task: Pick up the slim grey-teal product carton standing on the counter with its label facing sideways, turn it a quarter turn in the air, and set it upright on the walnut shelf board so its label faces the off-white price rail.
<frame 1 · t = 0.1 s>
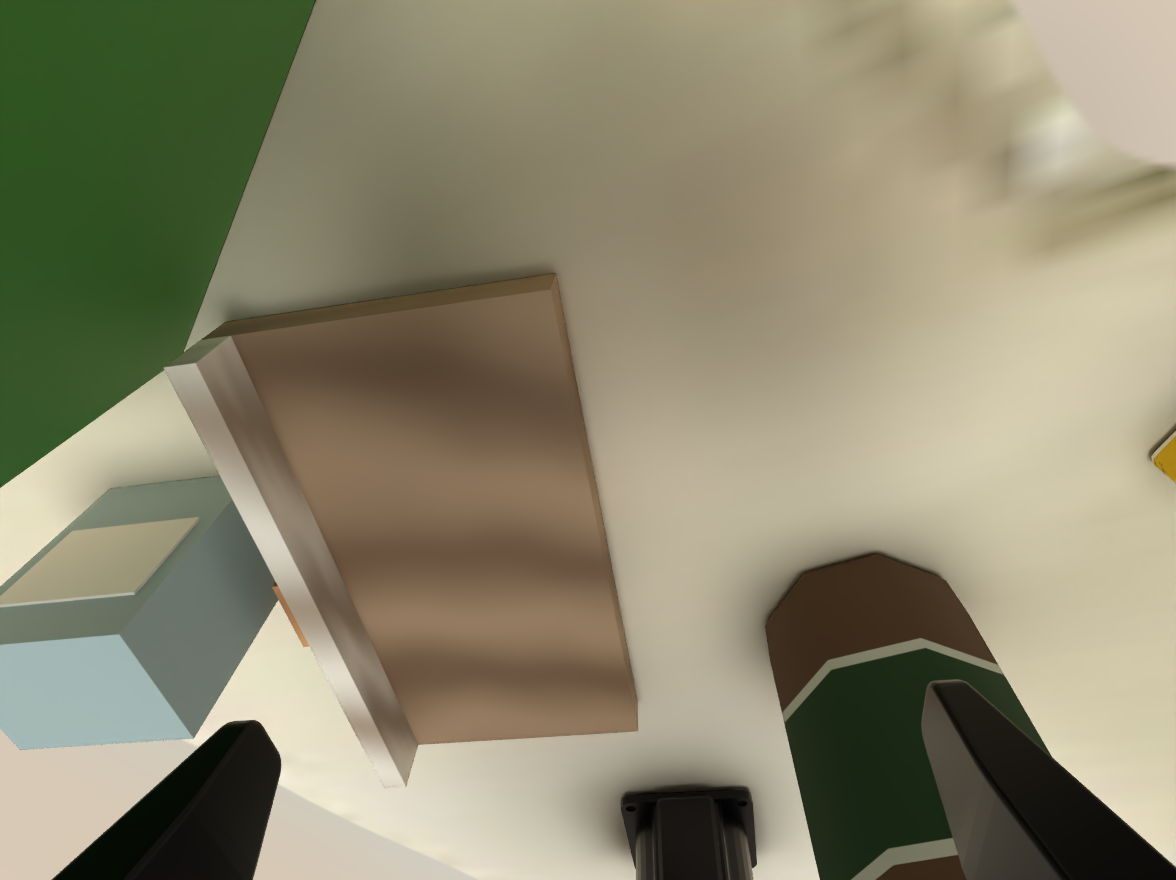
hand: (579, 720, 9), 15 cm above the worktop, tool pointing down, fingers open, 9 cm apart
beer bottle: (856, 618, 28), on the worktop
hardback book: (143, 33, 18), on the worktop
shelf board: (464, 542, 27), on the worktop
product carton: (208, 526, 27), on the worktop
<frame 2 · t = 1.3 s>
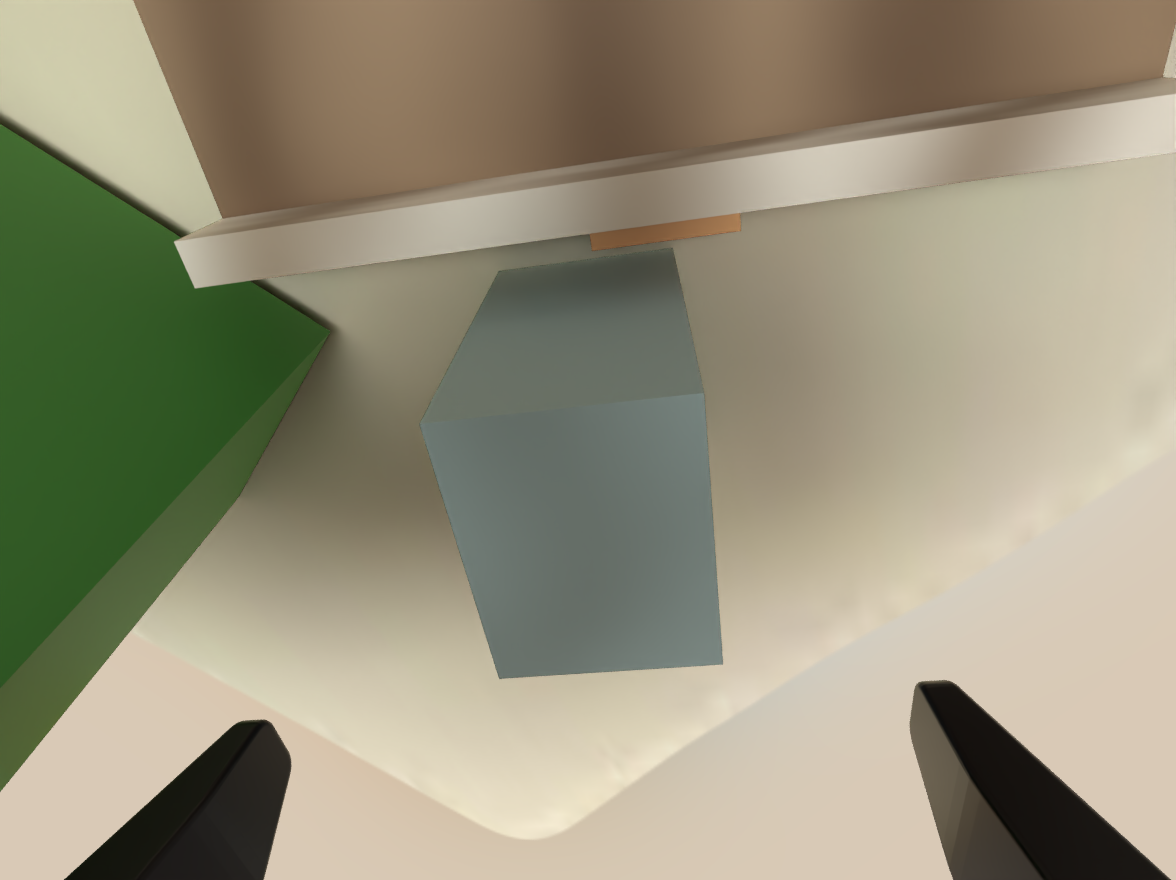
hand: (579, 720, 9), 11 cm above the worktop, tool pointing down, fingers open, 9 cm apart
product carton: (600, 366, 19), on the worktop
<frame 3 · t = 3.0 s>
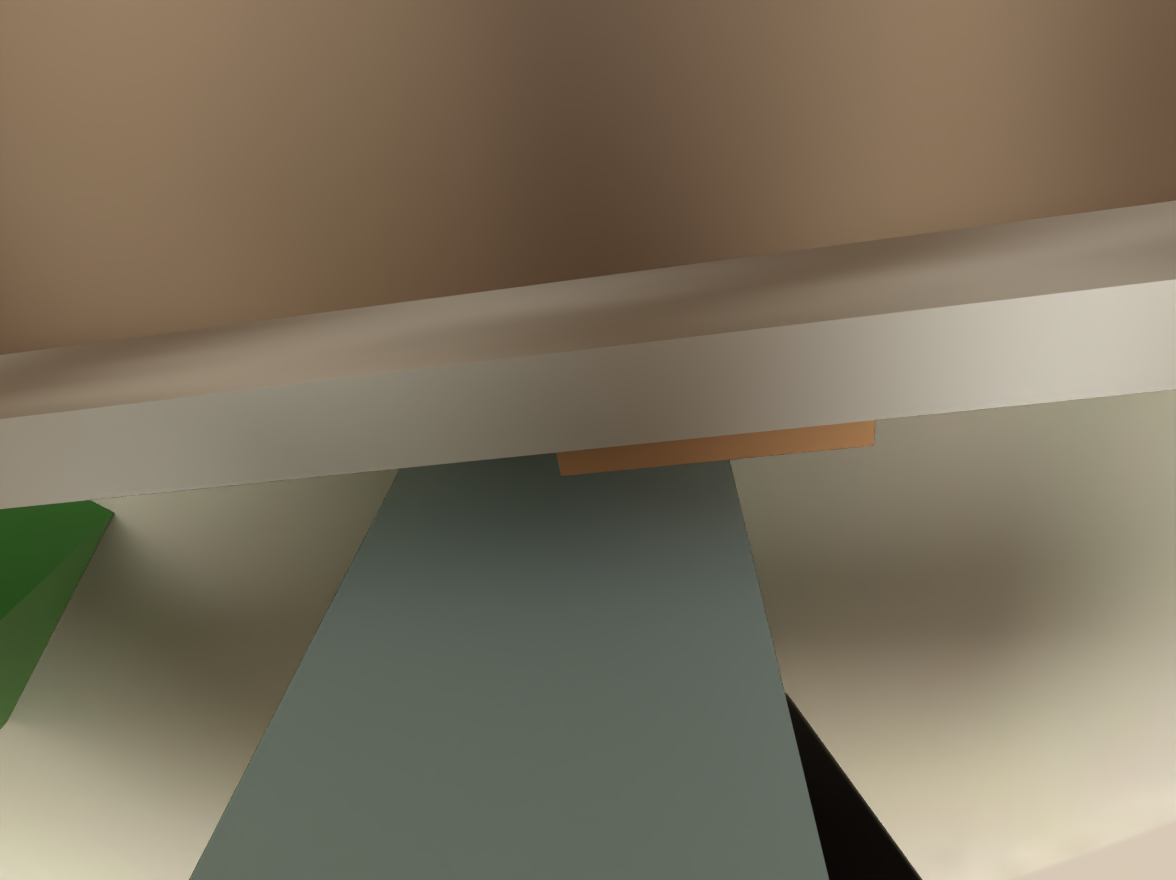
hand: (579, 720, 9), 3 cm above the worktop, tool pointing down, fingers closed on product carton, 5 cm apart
product carton: (592, 567, 12), on the worktop, touching gripper
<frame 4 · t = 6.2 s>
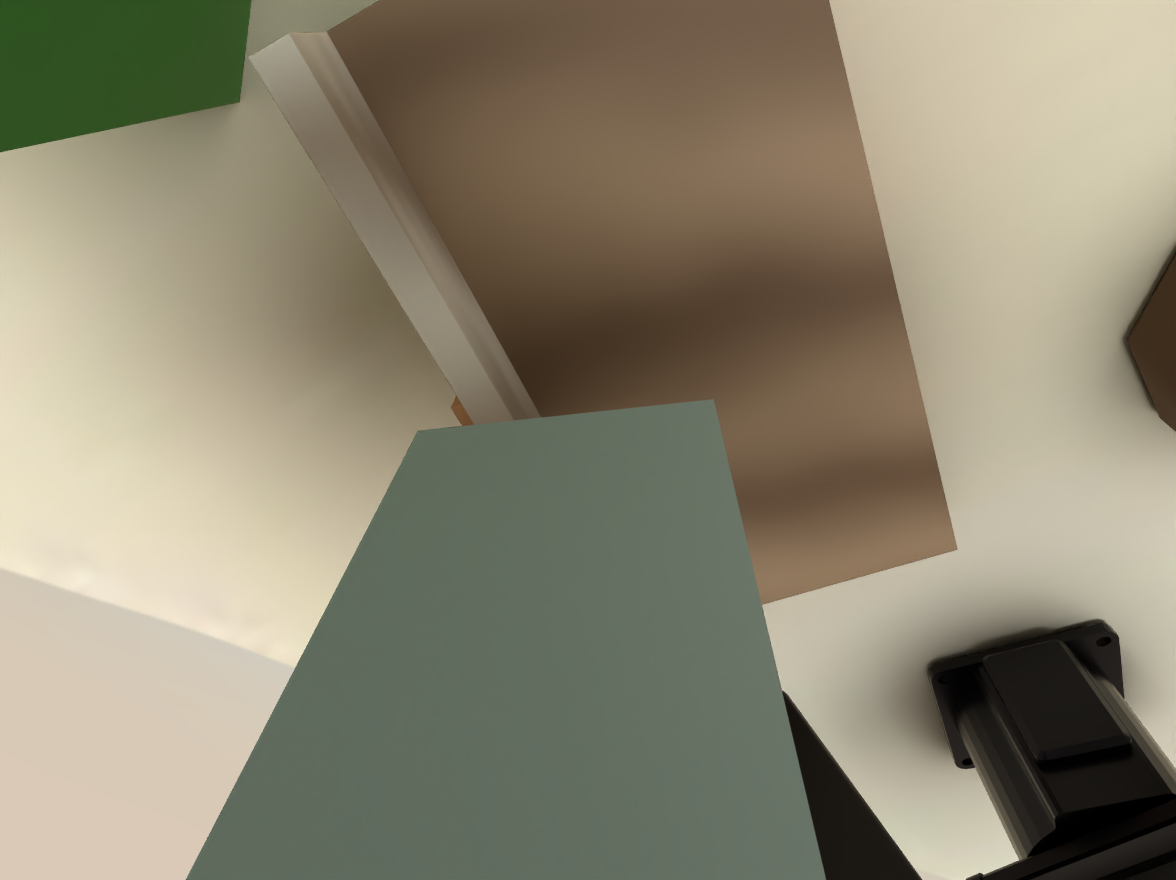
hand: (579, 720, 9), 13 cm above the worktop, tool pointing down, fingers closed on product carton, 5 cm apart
shelf board: (678, 323, 20), on the worktop
product carton: (591, 567, 12), point 10 cm above the worktop, touching gripper
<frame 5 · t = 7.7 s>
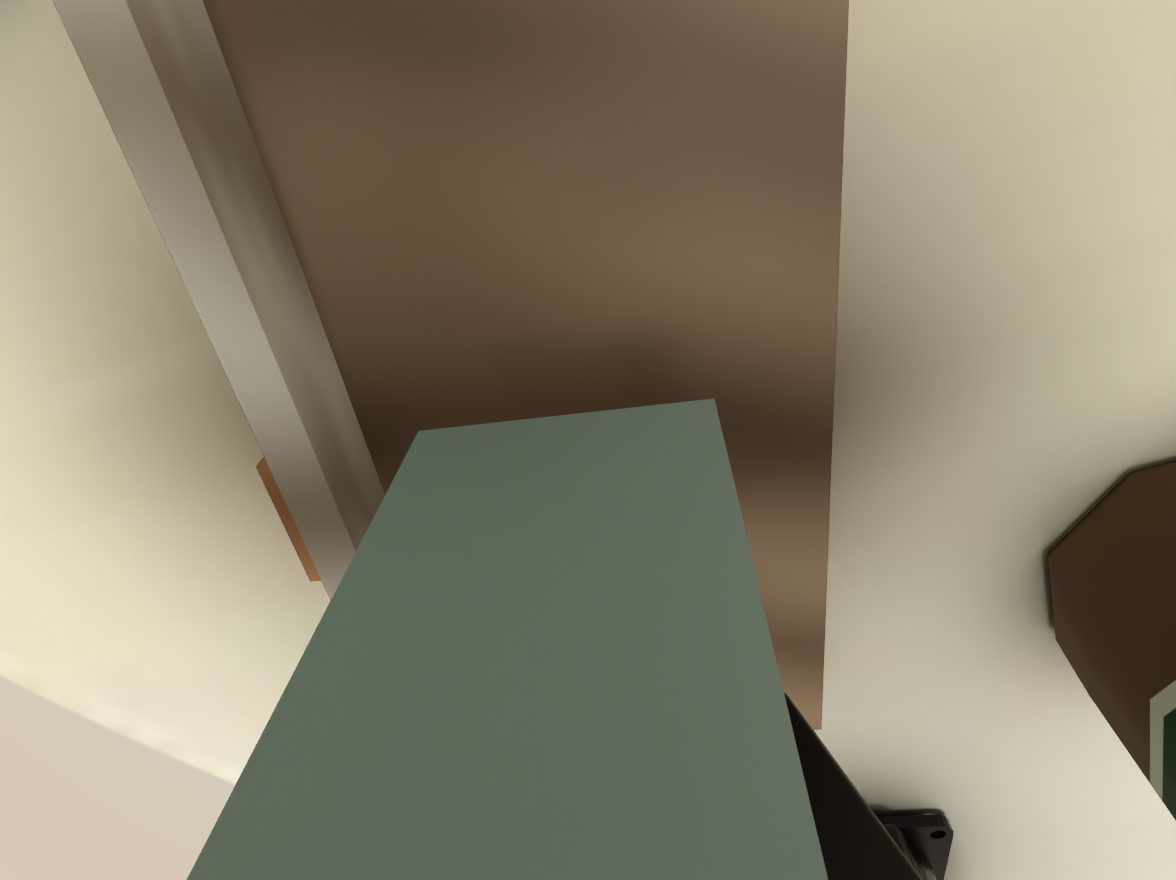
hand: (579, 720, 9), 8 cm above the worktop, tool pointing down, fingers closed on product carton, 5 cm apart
shelf board: (577, 417, 16), on the worktop
product carton: (591, 567, 12), point 5 cm above the worktop, touching gripper
when the fingers open (6 cm above the worktop, at t = 9.0 s): product carton drops 1 cm, resting on shelf board.
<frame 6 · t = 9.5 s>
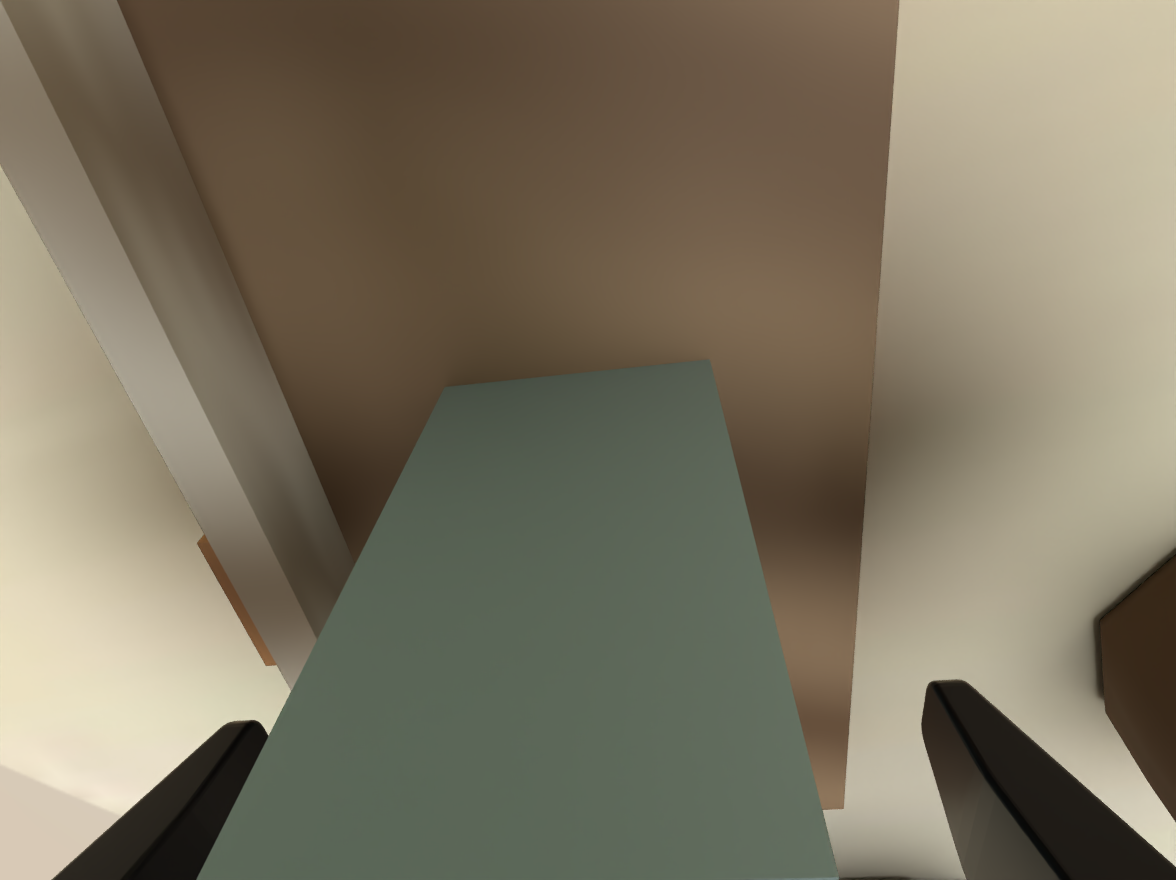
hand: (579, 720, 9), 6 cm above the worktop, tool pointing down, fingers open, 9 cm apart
shelf board: (572, 473, 14), on the worktop
product carton: (597, 515, 13), point 1 cm above the worktop, touching shelf board
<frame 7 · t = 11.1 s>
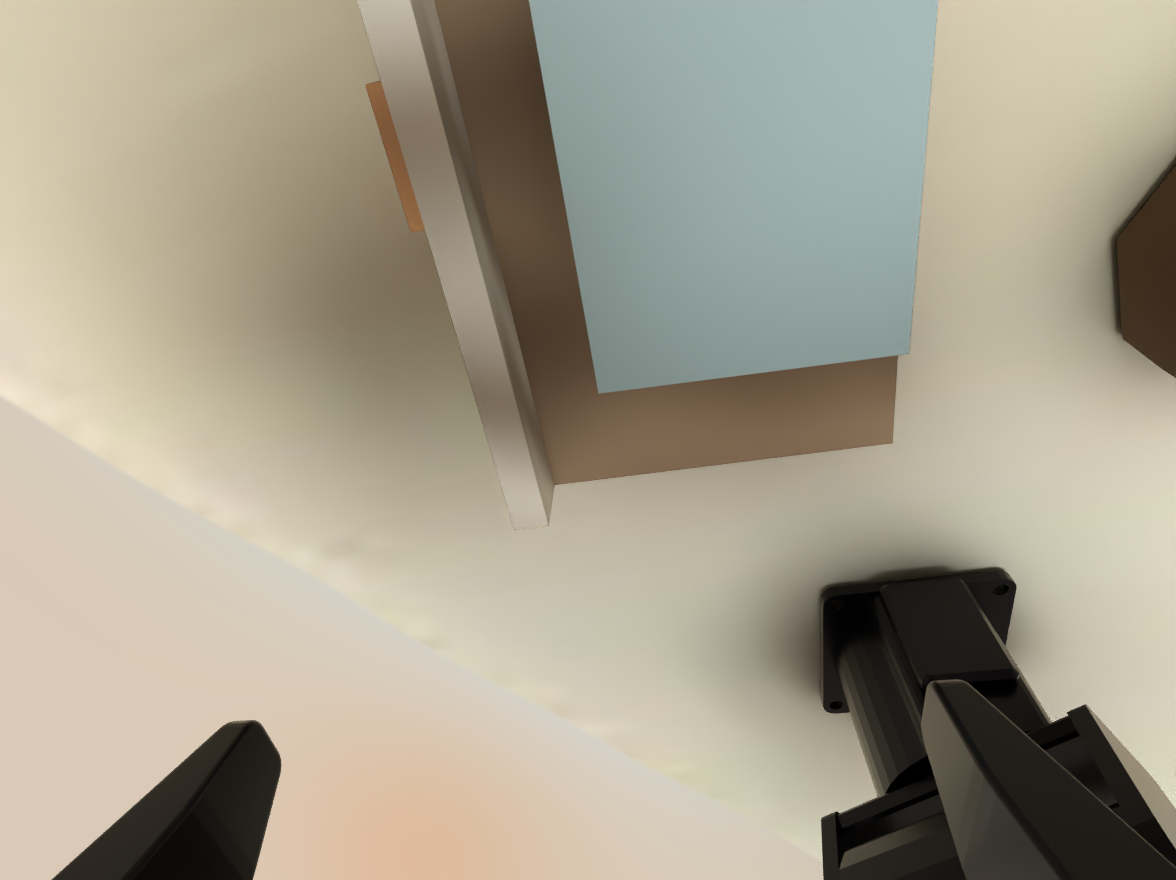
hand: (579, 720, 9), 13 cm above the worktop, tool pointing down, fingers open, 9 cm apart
shelf board: (657, 94, 17), on the worktop
product carton: (686, 97, 15), point 1 cm above the worktop, touching shelf board
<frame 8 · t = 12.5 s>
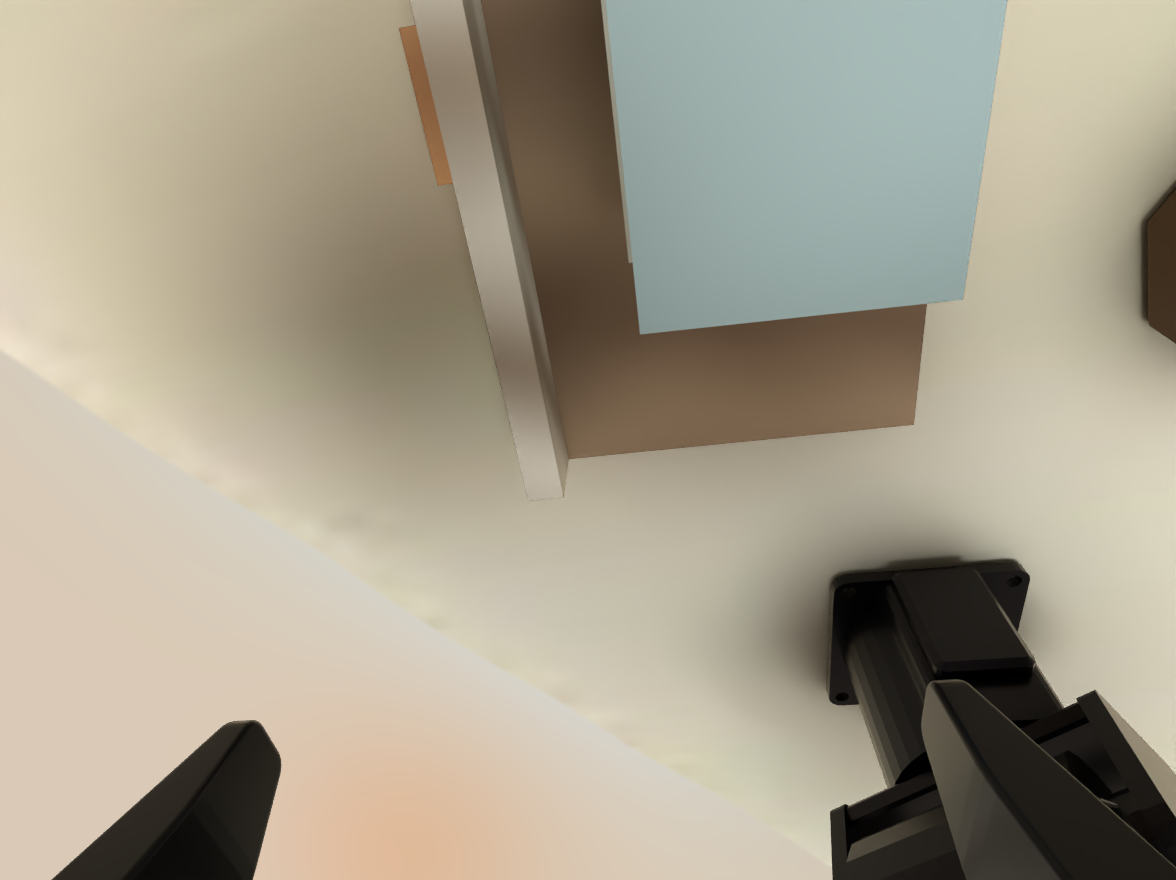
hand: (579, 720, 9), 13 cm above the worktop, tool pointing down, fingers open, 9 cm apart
shelf board: (690, 58, 16), on the worktop
product carton: (723, 58, 15), point 1 cm above the worktop, touching shelf board
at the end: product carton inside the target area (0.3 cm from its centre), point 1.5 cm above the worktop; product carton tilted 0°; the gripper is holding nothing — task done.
